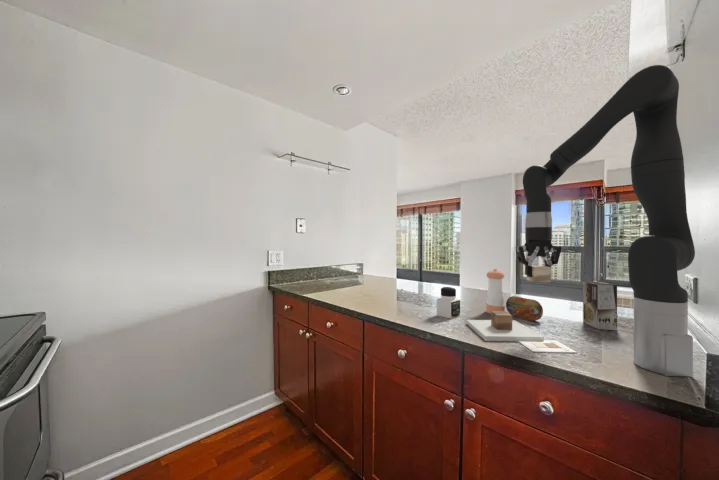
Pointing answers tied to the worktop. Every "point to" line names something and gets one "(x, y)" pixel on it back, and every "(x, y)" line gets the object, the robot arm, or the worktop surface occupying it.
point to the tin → (524, 308)
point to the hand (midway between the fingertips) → (538, 276)
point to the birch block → (540, 274)
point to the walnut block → (501, 320)
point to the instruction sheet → (546, 346)
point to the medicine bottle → (448, 303)
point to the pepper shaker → (495, 292)
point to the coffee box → (600, 305)
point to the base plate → (503, 332)
